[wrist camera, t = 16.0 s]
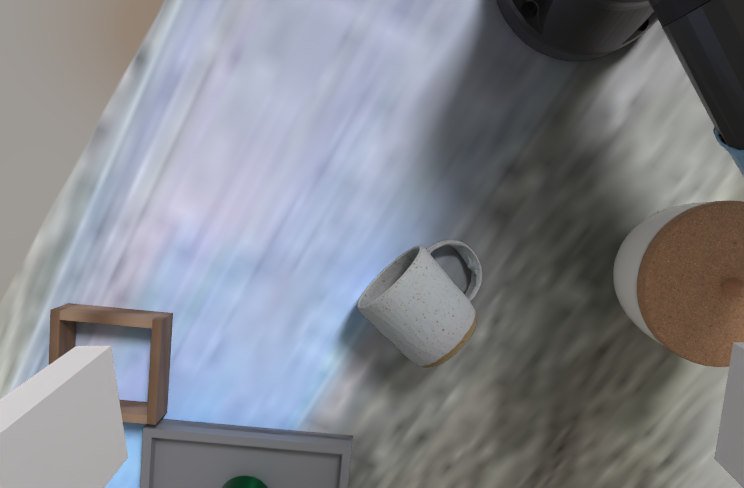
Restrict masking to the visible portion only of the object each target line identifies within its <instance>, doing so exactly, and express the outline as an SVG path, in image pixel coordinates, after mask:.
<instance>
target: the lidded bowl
mask: <svg viewBox="0 0 744 488" xmlns="http://www.w3.org/2000/svg"><path fill="white" fill-rule="evenodd" d="M613 282H614V288H615V292H616V295H617V298H618V300H619V302H620V304H621V306H622V308H623V310H624V311H625V313H626V314H627V315H628V317H629V318H630V319H631V320H632V322H633V323H634V324H635V325H636V326H637V327H638V328H640V329H641V330H642V331H643V332H644V333H645V334H647V335H648V336H649V337H651V338H652V339H654V340H655V341H657V342H658V343H660V344H662V345H663V346H664V347H666V348H667V349H669V350H670V351H672V352H673V353H675V354H676V355H678V356H680V357H682V358H685V359H687V360H689V361H691V362H694V363H697V364H701V365H705V366H714V367H727V366H730V360H731V353H732V347H733V343H738V342H744V202H741V201H715V202H704V203H690V204H684V205H680V206H675V207H671V208H668V209H665V210H663V211H660V212H657V213H655V214H653V215H651V216H650V217H648V218H646V219H645V220H643V221H642V222H641V223H639V224H638V225H637V226H636V227H634V229H633V230H632V231H631V232H630V233H629V234H628V235H627V236H626V238H625V239H624V241H623V242H622V244H621V246H620V248H619V250H618V252H617V255H616V258H615V262H614V268H613Z"/></svg>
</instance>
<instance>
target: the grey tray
mask: <svg viewBox="0 0 744 488" xmlns="http://www.w3.org/2000/svg"><path fill="white" fill-rule="evenodd" d="M352 439H353V436H347V435H336V434H325V433H314V432H303V431H292V430H280V429H269V428H258V427H247V426H236V425H225V424H213V423H202V422H191V421H180V420H169V419H160V421H159V422H158V423H157V424H156V425H152V424H147V425H146V426H145V427H144V428H143V441H142V460H141V478H140V488H222V486H223V485H224V484H225V483H226V482H227V481H228V480H230V479H232V478H234V477H237V476H252V477H255V478H257V479H259V480H261V481H262V482H263V483H264V484H265V485H266V486H267V487H268V488H348V482H349V472H350V462H351V452H352Z"/></svg>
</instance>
